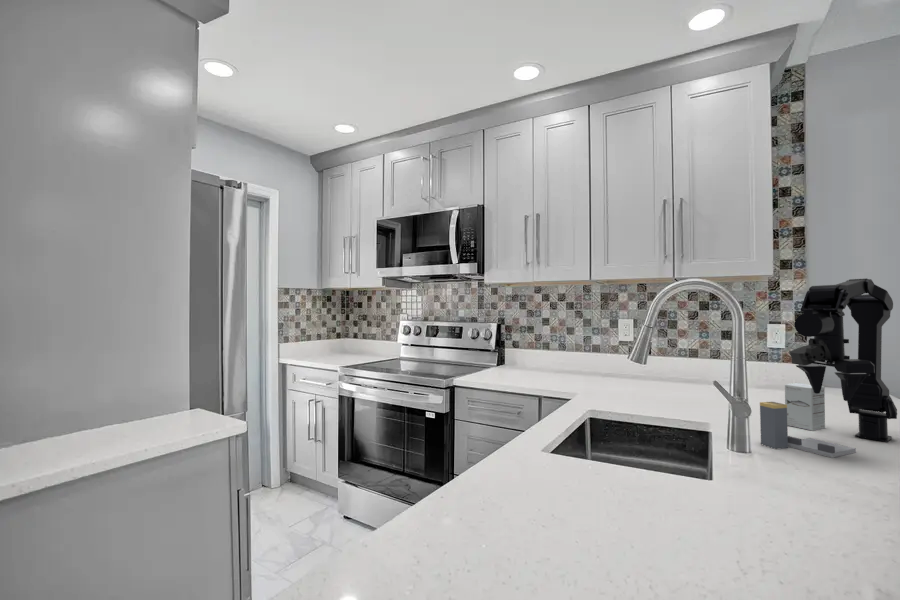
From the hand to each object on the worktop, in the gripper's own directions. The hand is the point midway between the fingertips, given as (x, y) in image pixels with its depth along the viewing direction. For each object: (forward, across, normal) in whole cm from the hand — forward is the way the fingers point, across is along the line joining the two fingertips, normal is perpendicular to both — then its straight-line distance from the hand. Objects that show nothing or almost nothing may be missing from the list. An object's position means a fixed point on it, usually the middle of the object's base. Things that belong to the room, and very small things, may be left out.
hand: (831, 396), depth 110 cm
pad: (+13, -1, -2) cm, 14 cm away
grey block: (+13, -3, -12) cm, 18 cm away
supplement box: (+14, -24, +10) cm, 29 cm away
